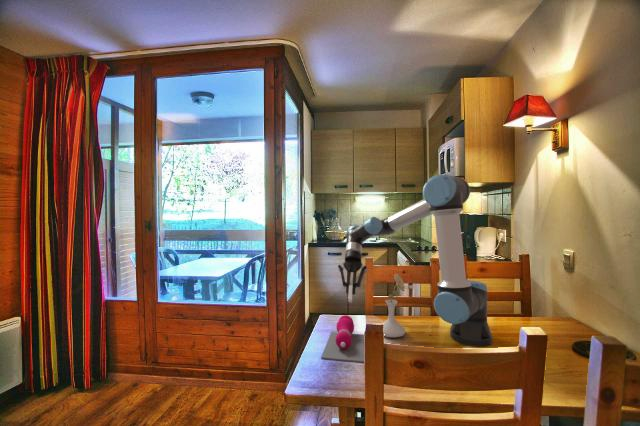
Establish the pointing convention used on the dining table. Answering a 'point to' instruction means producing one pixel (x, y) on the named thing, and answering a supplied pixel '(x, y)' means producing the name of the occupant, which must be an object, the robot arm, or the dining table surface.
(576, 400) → the dining table surface
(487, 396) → the dining table surface
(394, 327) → the flower in vase
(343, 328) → the pepper mill
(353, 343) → the mat
